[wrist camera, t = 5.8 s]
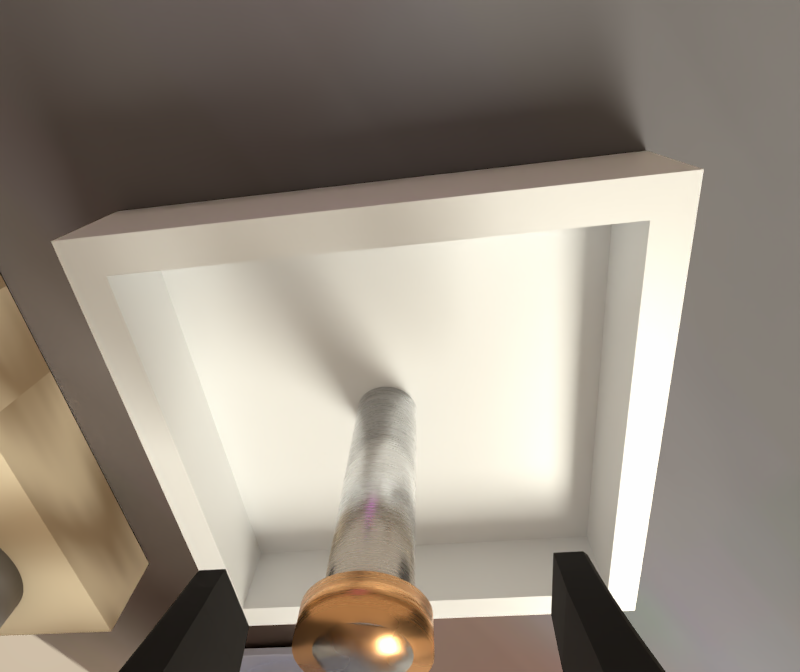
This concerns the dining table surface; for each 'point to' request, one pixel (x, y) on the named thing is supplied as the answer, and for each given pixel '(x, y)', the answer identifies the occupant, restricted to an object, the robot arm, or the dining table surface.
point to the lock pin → (371, 555)
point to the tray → (405, 366)
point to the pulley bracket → (54, 505)
